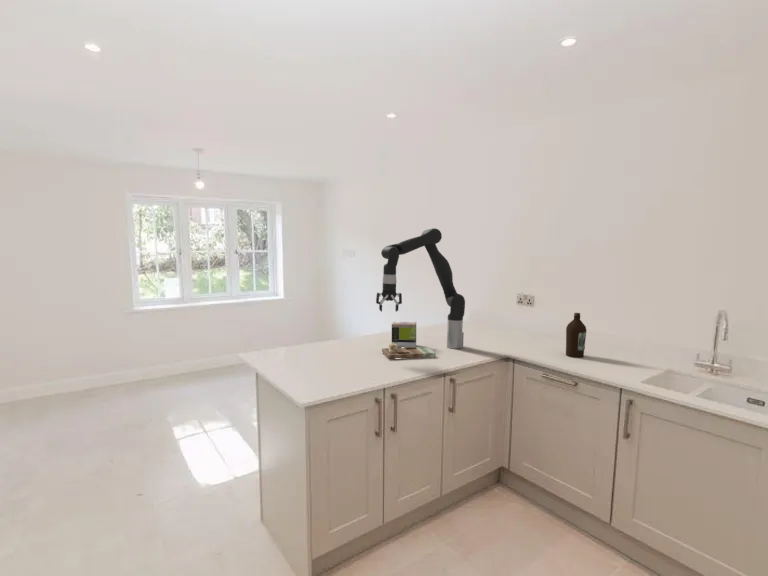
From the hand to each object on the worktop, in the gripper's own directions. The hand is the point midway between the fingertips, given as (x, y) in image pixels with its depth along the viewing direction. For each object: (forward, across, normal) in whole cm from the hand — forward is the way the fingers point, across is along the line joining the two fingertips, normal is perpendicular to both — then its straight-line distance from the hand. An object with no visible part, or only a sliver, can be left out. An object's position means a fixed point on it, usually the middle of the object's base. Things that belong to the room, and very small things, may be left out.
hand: (388, 311), depth 237 cm
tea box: (+25, -13, -21) cm, 35 cm away
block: (+23, -3, +1) cm, 23 cm away
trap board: (+25, -12, 0) cm, 28 cm away
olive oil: (+24, -108, +8) cm, 111 cm away
